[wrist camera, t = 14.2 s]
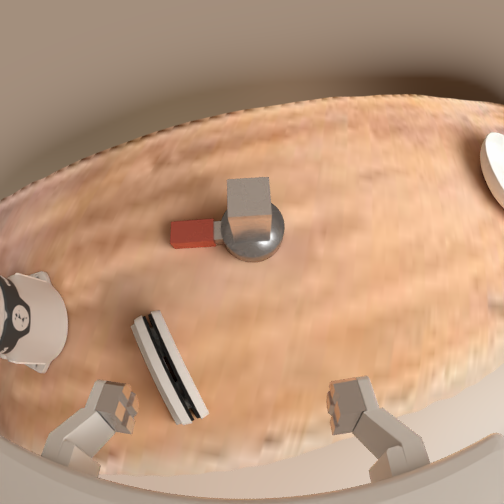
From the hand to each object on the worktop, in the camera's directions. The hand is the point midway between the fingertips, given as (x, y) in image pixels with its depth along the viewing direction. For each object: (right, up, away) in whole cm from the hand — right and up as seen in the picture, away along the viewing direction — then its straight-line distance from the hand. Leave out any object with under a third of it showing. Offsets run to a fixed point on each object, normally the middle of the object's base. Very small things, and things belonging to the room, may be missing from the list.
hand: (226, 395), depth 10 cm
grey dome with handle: (-3, +8, +33) cm, 34 cm away
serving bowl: (+59, +21, +35) cm, 71 cm away
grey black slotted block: (-10, -11, +28) cm, 32 cm away
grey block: (+1, +9, +30) cm, 32 cm away
